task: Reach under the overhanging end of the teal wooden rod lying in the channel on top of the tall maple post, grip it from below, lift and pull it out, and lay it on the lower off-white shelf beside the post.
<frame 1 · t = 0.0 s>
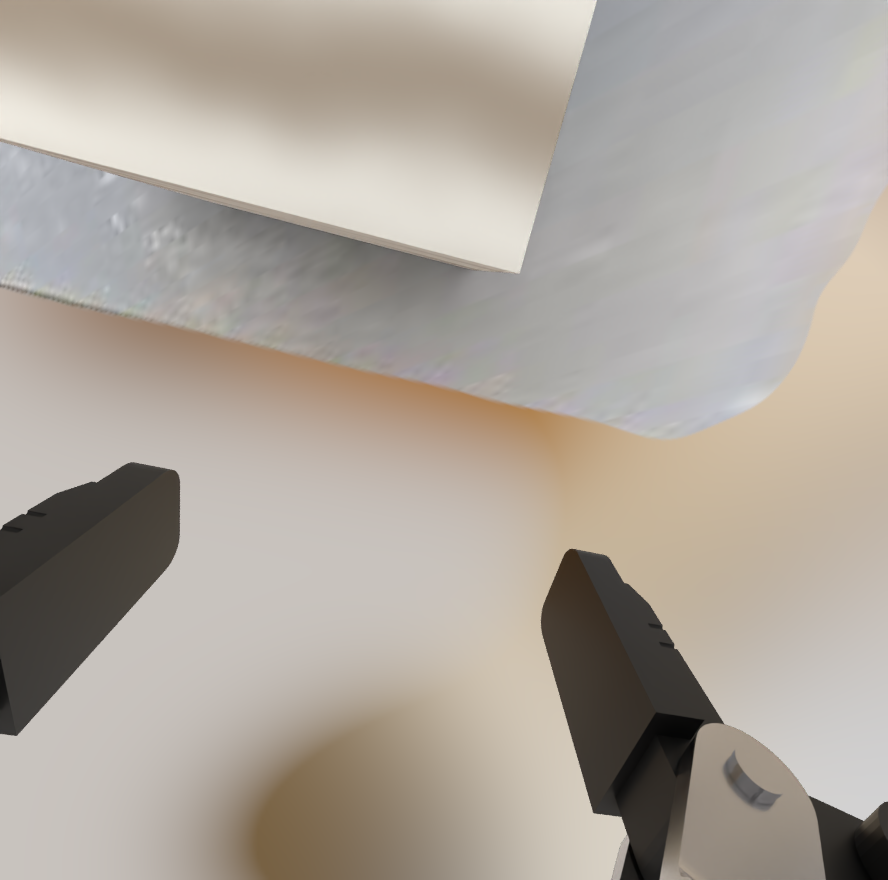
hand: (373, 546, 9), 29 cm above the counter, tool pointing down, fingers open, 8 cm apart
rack: (296, 69, 29), on the counter
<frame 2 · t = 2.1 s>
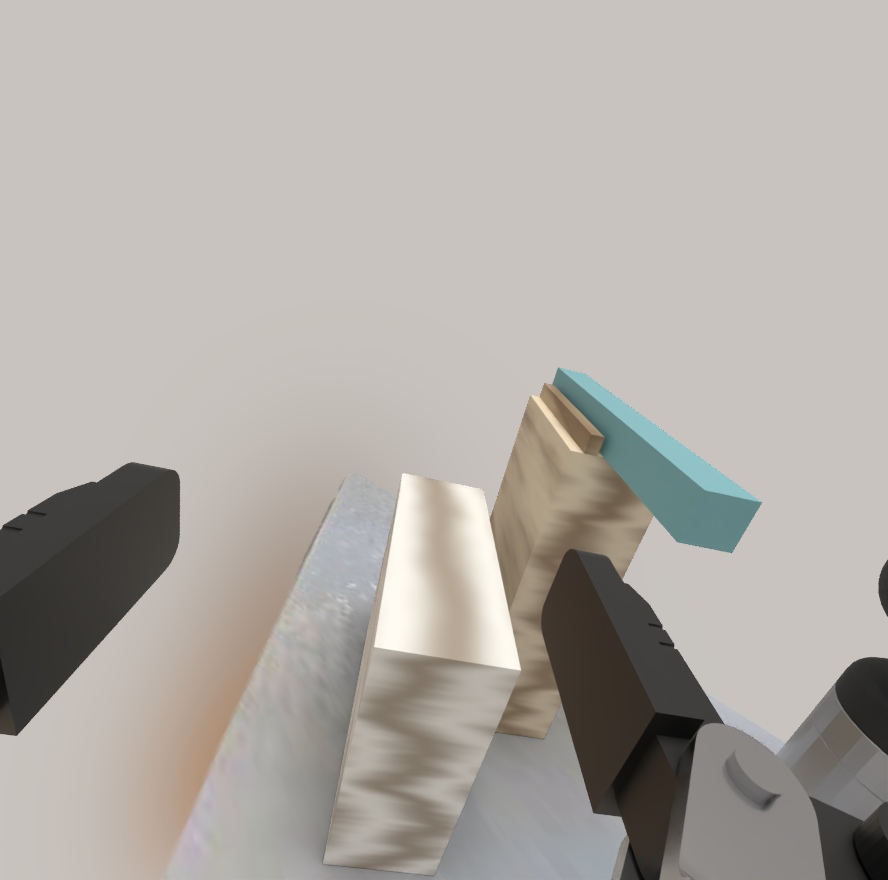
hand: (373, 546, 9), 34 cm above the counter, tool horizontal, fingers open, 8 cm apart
rod: (607, 445, 33), point 30 cm above the counter, touching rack
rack: (448, 687, 45), on the counter
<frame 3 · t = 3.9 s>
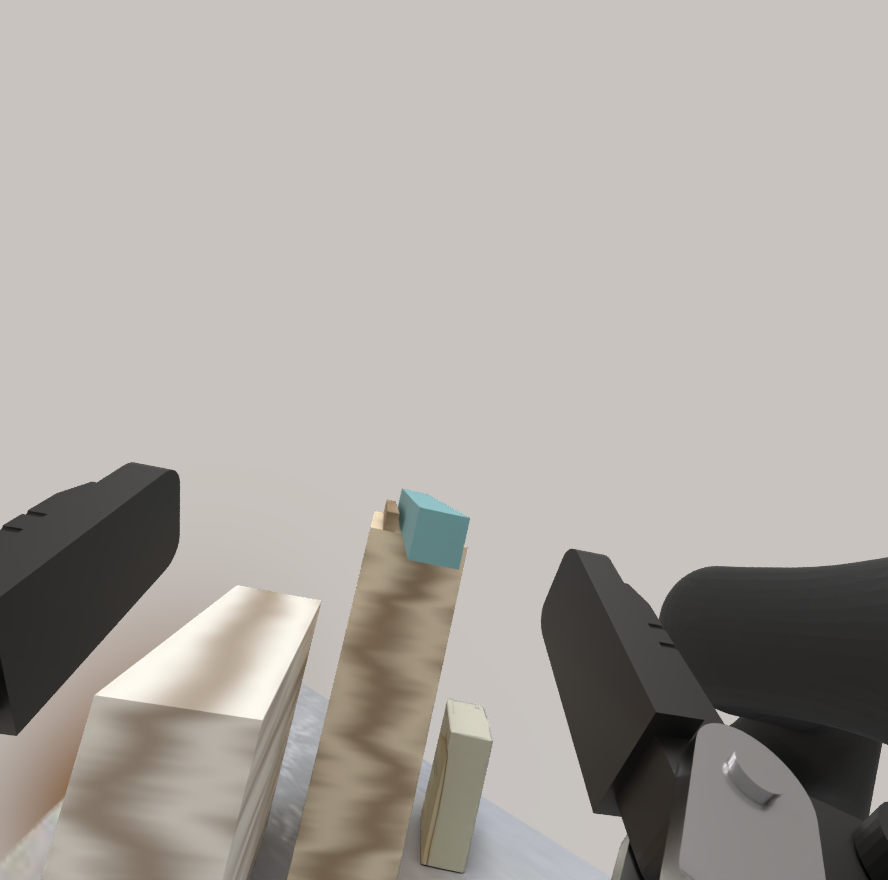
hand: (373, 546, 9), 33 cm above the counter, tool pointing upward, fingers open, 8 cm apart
rod: (416, 532, 37), point 30 cm above the counter, touching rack
skincare box: (441, 845, 42), on the counter
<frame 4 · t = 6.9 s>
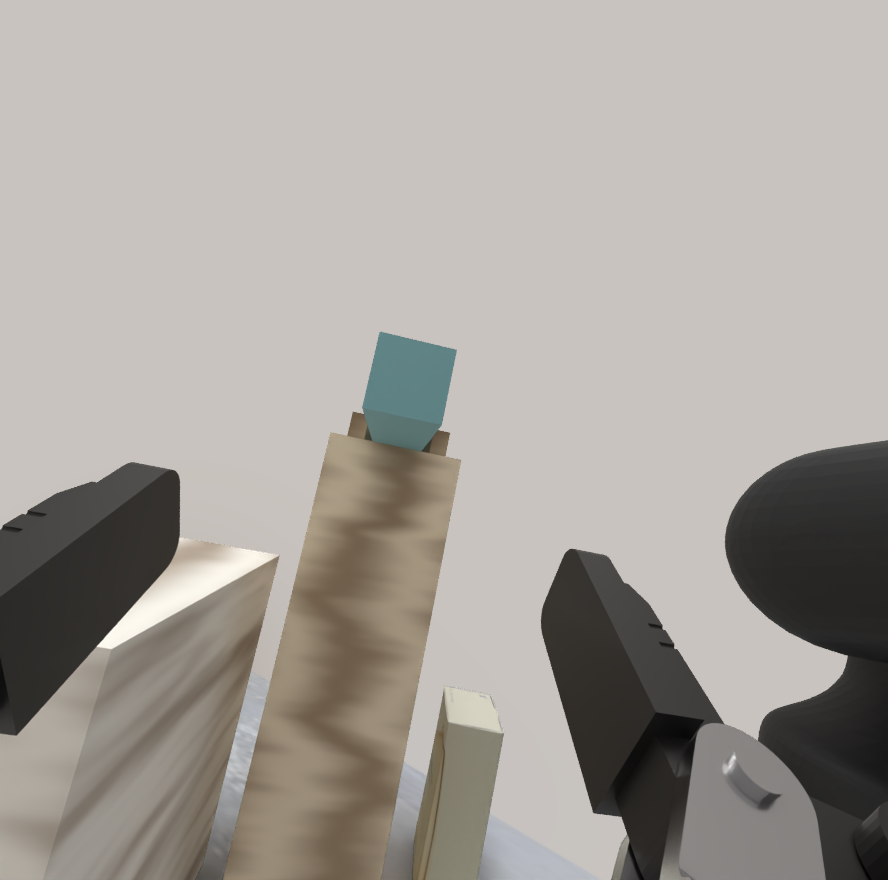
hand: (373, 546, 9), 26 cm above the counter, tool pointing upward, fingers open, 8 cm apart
rod: (395, 451, 29), point 30 cm above the counter, touching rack
skincare box: (440, 879, 32), on the counter
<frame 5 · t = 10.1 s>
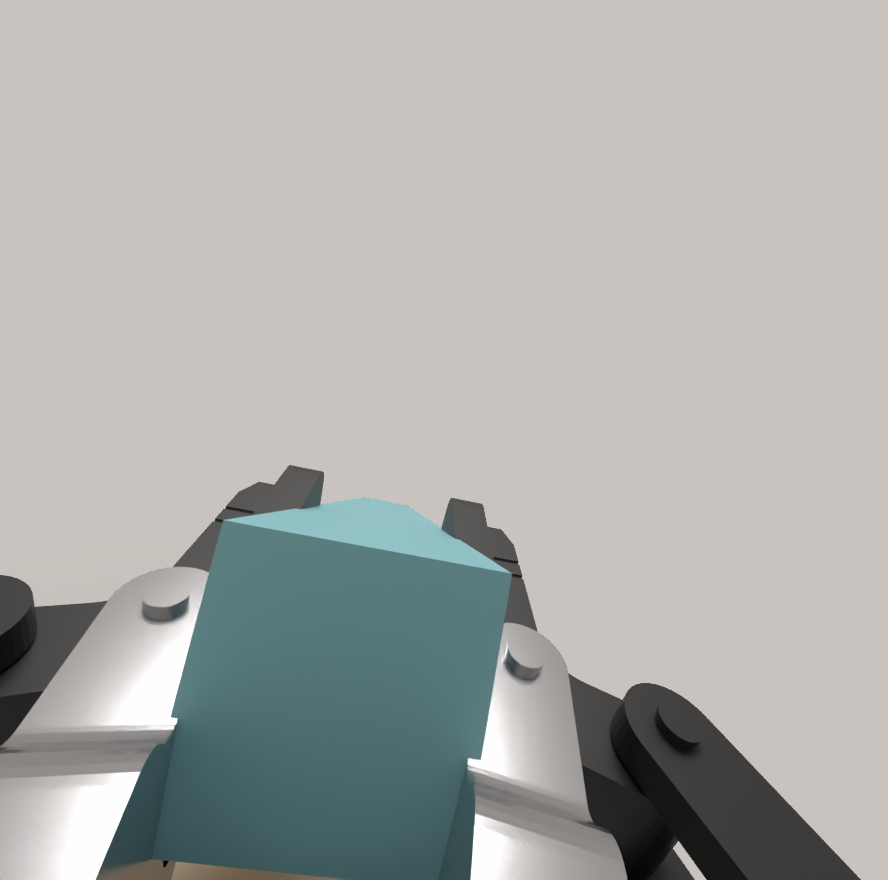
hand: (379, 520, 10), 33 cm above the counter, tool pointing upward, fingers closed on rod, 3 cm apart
rod: (368, 583, 17), point 30 cm above the counter, touching gripper, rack
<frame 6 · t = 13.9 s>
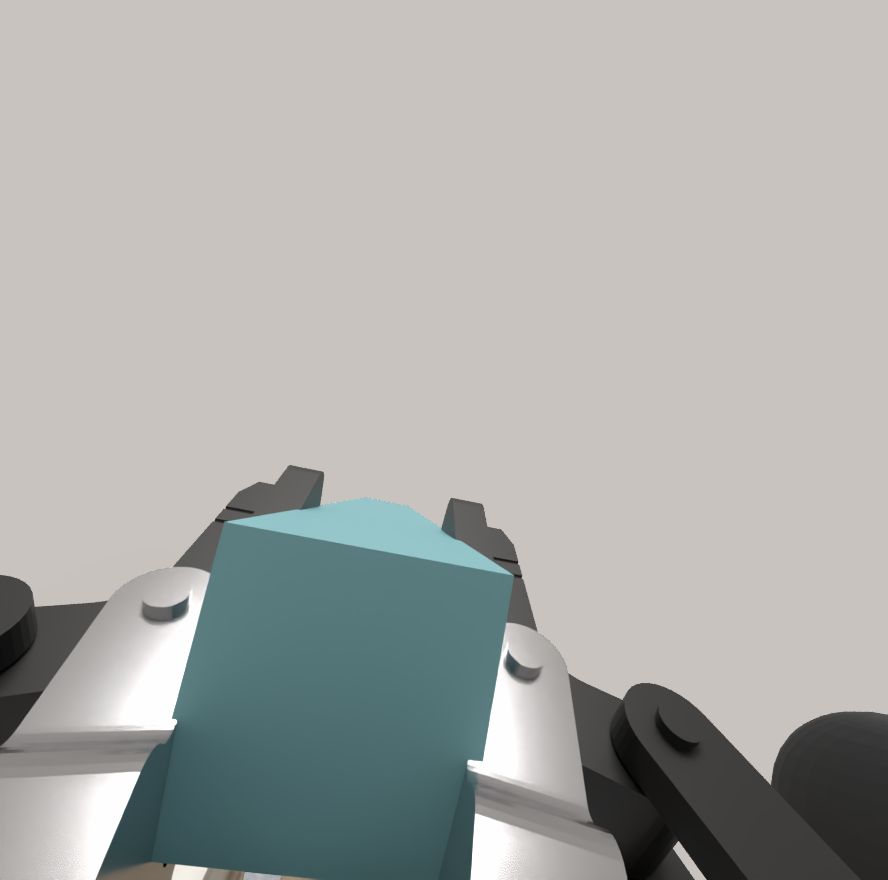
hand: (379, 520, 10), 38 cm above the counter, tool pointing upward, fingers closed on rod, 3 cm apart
rod: (368, 583, 17), point 35 cm above the counter, touching gripper
when the fingers open (26 cm above the counter, at t = 18.0 s): rod drops 2 cm, resting on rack.
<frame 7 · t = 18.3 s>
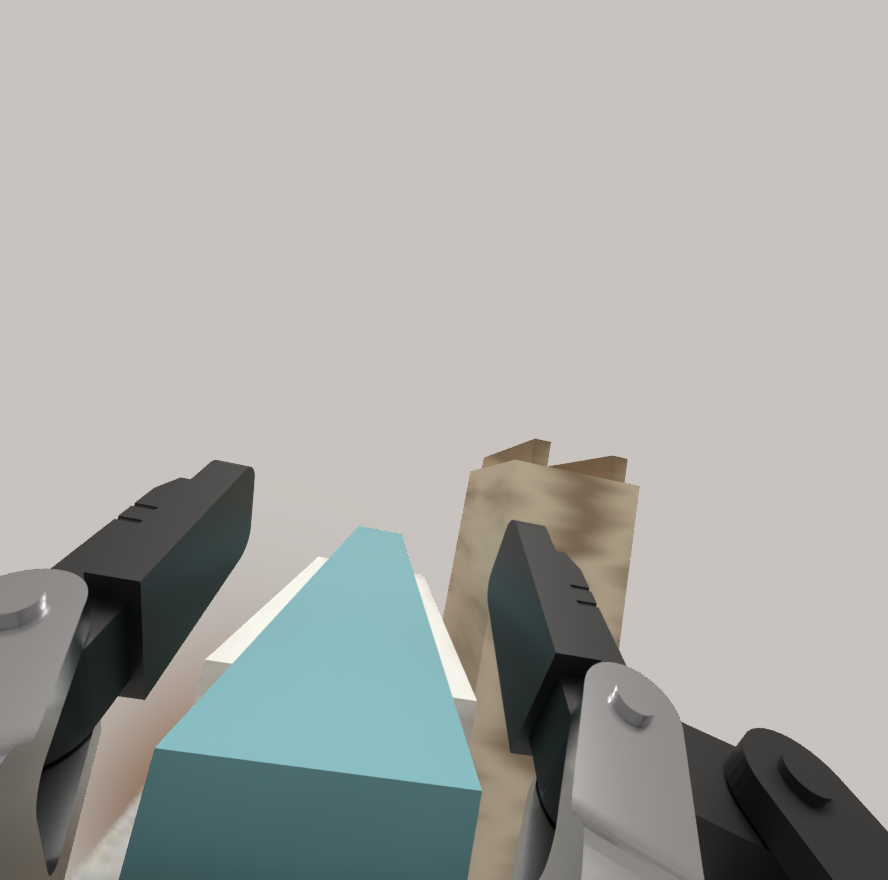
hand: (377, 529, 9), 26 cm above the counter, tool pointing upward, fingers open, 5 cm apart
rod: (356, 637, 16), point 21 cm above the counter, touching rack
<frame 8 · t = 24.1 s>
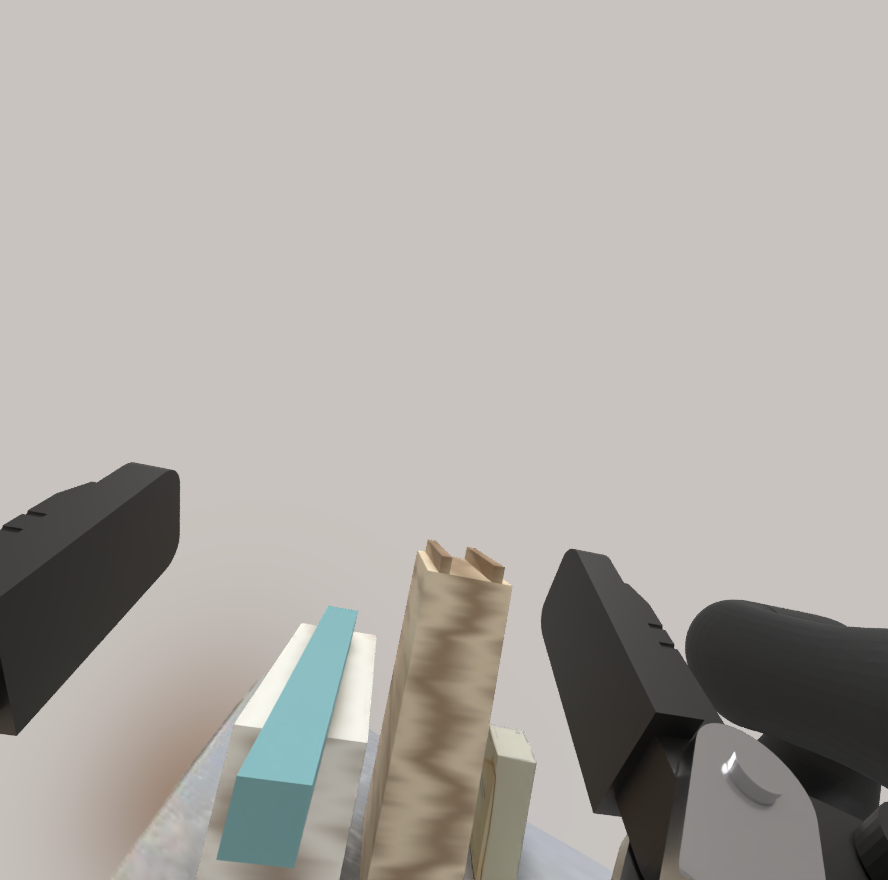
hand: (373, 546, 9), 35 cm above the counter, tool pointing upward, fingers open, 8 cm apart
rod: (313, 702, 29), point 21 cm above the counter, touching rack
skincare box: (491, 865, 45), on the counter
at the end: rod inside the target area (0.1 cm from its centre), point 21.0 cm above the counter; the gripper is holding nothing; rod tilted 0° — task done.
